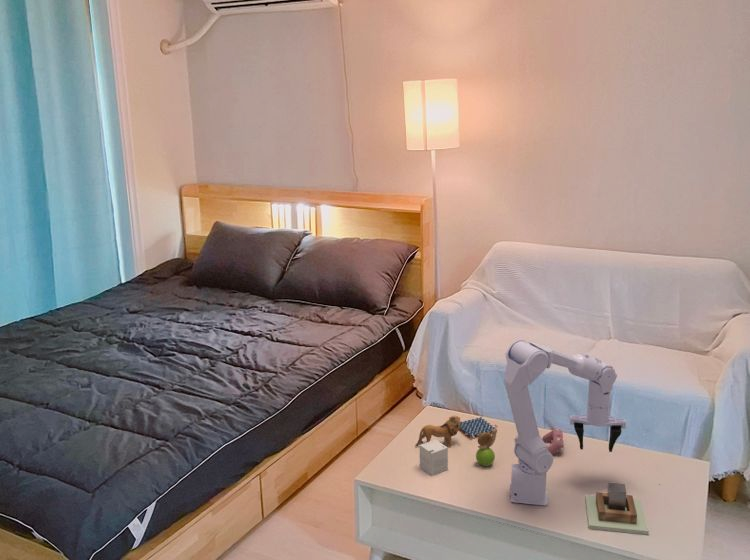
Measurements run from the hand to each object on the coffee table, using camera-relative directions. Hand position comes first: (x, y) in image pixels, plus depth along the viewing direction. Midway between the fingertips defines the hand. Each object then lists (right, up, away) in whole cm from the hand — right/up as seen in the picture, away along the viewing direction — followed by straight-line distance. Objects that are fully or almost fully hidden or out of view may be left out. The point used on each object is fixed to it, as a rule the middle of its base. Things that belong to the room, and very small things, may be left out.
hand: (595, 448), depth 195 cm
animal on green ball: (-28, -7, +12) cm, 32 cm away
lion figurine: (-41, -4, +24) cm, 48 cm away
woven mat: (-29, -2, +33) cm, 44 cm away
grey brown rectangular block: (+1, -13, -14) cm, 19 cm away
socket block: (0, -14, -14) cm, 20 cm away
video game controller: (-7, -5, +20) cm, 22 cm away
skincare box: (-44, -8, +10) cm, 46 cm away
